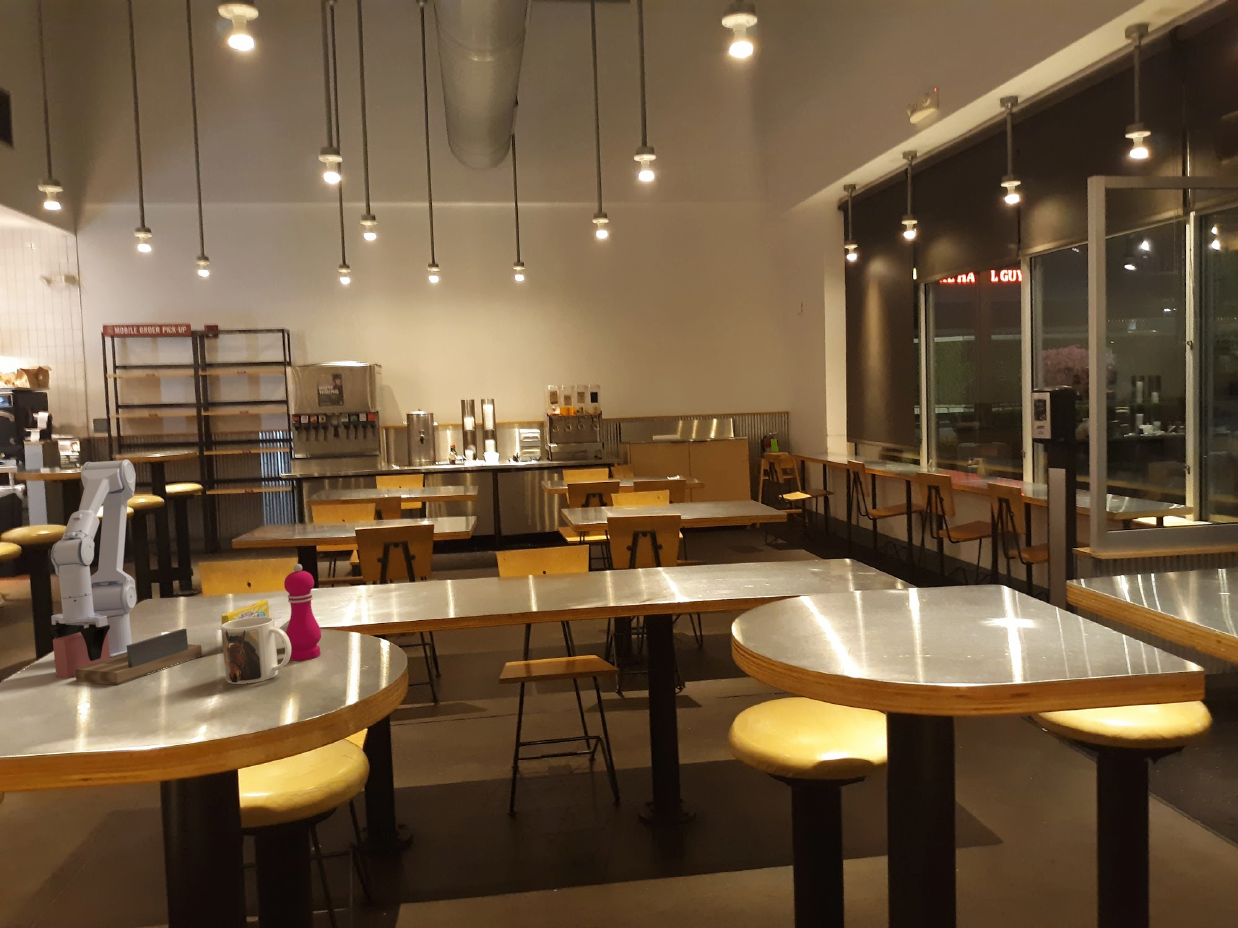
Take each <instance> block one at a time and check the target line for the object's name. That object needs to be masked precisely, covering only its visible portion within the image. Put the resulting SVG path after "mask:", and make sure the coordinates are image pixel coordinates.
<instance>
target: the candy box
mask: <svg viewBox="0 0 1238 928" xmlns="http://www.w3.org/2000/svg"><path fill="white" fill-rule="evenodd" d="M269 609H270V608H269V600H260V601H257V602H254V603H251V604H248V605H246V606H243V607H241V608H238V609H237V608H236V609H235V610H232V611H230V612H227V613H224V614H221V615H220V616H221V626H222V625H223V624H224V623H227V622H230V621H233V620H237V619H243V618H250V617H270V610H269Z"/></svg>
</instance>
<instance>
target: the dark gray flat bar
mask: <svg viewBox="0 0 1238 928" xmlns="http://www.w3.org/2000/svg"><path fill="white" fill-rule="evenodd" d="M188 644H189V642H188V634H187V628H181V629H177V630H173V631H170V632H167V633H164V634H161V635H157V636H154V637H150V638H148V639H147V638H146V639H144V640H141V641H137V642H134V643H133V642H132V644H130V645H126V646H127V657H128V667H130V668H133V667H136V666H139V665H142V664H145V663H148V662H151V661H154V660H157V659H160V658H163V657H166V656H169V655H172V654H176V653H179V652H182V651H185V650H188Z"/></svg>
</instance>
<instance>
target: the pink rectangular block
mask: <svg viewBox="0 0 1238 928" xmlns="http://www.w3.org/2000/svg"><path fill="white" fill-rule="evenodd" d="M52 648H53V656H54V664H55V665H54V666H55V673H56V674H55V675H56V678H64V679H70V678H72V677H76V673H75V669H77V668H81V667H84V666H87V665H90V664H94V663H97V662H100V661H103V660H107V659H110V658H111V657H110V652H109V642H108V633H107V635H106V637H105V640H104V643H103V648H102V653H101V658H100V659H97V660H94V661H90V659H89V657H88V652H87V646H86V643H85V640H84V638H83V636H82V634H81V632H80V631H79V632H77V633H75V634H71V635H68V636H64V637H60V638H57V639H56V638H54V639H52Z"/></svg>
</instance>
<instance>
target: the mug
mask: <svg viewBox="0 0 1238 928" xmlns="http://www.w3.org/2000/svg"><path fill="white" fill-rule="evenodd" d="M220 631H221V642H222V653H223V663H224V664H223V665H224V675H225V681H227V682H226V683H228V684H233V685H247V683H248V684H255V683H259V682H260V683H261V682H263V681H266V680H270V679H273V678H274V677H276V676H278V674H279V670H280V669H282V668H283V667H285V666H287V664H288V663H289V661H290V660H291V659H290V656H291V649H292V648H291V643H290V640H289V638H288V636H287V634H286V633H285V632H284V631H283V630H282V629H280V627H277V626H275V620H274V618H273V617H270V616H269V617H250V618H243V619H237V620H233V621H230V622H227V623H224V624H223V625H222V624H221V626H220ZM276 635H277V636H278V637H279V638H280V639H281V641H282V640H283V642H284V644H283V645H284V657H283V660H282V661H281V663H279V662H278V653H277V650H278V649H277V642H276V641H277V640H276ZM283 642H282V643H283ZM278 663H279V664H278Z"/></svg>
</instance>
